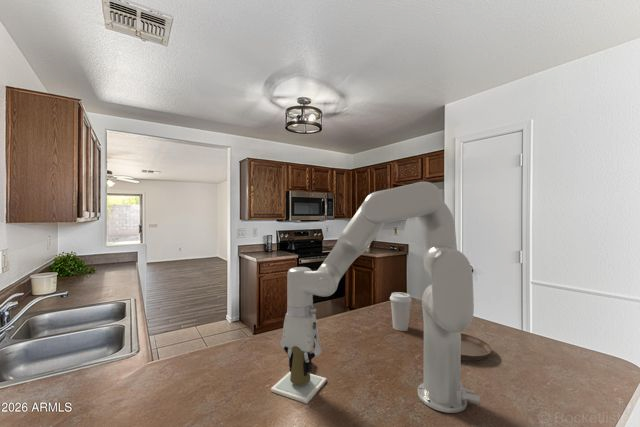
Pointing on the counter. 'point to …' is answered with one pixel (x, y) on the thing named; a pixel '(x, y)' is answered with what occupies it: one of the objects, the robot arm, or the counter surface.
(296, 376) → the olive rounded tall piece
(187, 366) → the counter surface
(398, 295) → the coffee cup
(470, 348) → the plant saucer
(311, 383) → the plate
